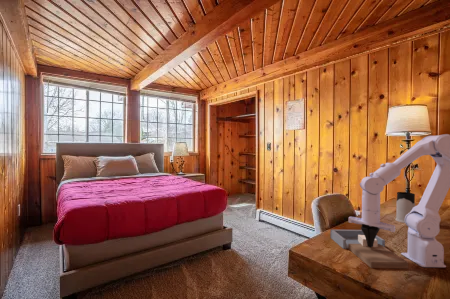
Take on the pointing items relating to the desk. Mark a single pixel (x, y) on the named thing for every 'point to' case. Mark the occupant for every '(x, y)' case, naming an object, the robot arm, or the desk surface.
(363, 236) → the tile
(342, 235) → the box
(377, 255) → the platform
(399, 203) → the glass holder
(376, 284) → the desk surface
